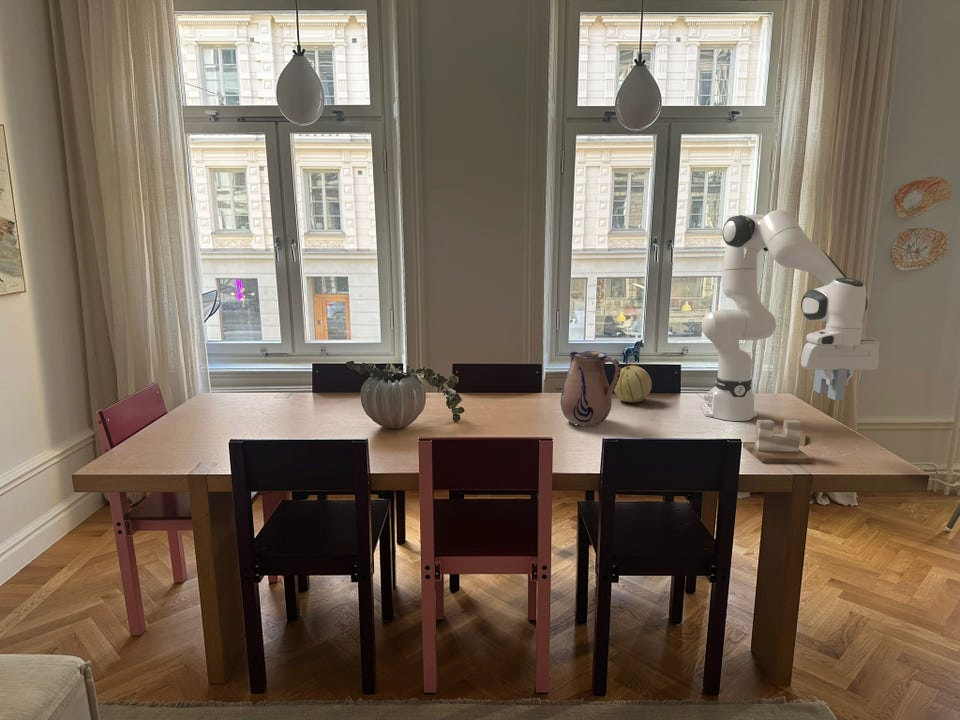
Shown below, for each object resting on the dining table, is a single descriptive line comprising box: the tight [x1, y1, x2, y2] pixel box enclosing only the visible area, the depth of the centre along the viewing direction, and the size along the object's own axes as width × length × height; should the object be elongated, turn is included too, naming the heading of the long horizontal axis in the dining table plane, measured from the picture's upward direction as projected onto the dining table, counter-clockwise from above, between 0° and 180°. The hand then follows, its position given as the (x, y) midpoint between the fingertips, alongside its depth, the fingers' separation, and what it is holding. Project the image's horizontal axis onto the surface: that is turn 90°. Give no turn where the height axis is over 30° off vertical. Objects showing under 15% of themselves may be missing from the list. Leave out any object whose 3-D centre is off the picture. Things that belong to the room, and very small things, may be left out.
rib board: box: [742, 419, 813, 464], centre depth 182 cm, size 14×14×10 cm
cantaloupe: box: [613, 365, 652, 403], centre depth 239 cm, size 15×15×15 cm
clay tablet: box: [773, 427, 806, 447], centre depth 198 cm, size 14×10×3 cm
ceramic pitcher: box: [560, 350, 622, 427], centre depth 210 cm, size 18×21×25 cm
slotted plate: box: [812, 369, 847, 402], centre depth 177 cm, size 12×2×9 cm, turn 179°
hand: (836, 384), depth 173 cm, fingers closed on slotted plate, 2 cm apart
